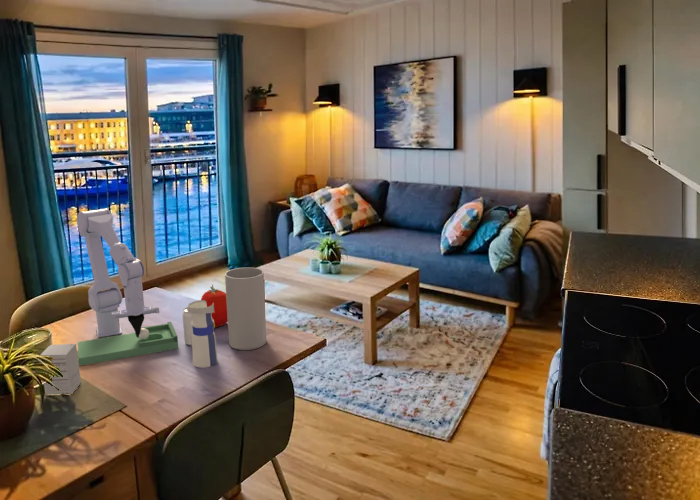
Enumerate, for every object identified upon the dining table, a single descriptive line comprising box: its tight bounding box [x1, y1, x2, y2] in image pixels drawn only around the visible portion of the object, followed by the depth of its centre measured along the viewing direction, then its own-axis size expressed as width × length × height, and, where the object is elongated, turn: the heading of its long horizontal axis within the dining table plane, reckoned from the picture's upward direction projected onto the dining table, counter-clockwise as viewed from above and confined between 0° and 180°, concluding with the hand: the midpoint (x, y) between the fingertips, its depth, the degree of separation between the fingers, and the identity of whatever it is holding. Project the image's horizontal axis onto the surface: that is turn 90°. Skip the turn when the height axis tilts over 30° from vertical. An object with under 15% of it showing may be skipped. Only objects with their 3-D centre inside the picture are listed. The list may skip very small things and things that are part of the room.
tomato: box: [200, 288, 228, 328], centre depth 205 cm, size 13×11×14 cm
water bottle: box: [187, 283, 219, 369], centre depth 175 cm, size 8×9×25 cm
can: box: [182, 306, 193, 346], centre depth 191 cm, size 6×6×12 cm
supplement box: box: [40, 343, 82, 395], centre depth 159 cm, size 7×7×13 cm
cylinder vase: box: [224, 267, 267, 351], centre depth 188 cm, size 12×12×25 cm
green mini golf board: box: [77, 321, 179, 367], centre depth 187 cm, size 14×30×4 cm, turn 115°
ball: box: [137, 327, 149, 340], centre depth 188 cm, size 4×4×4 cm
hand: (138, 336), depth 187 cm, fingers closed, pressing on ball
